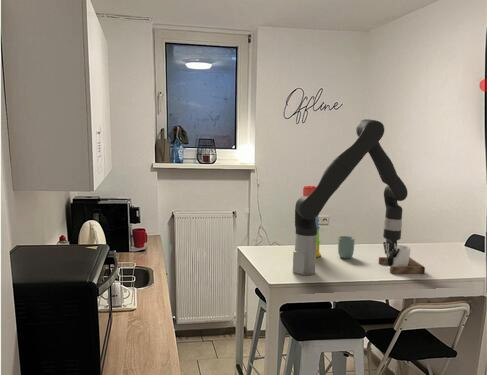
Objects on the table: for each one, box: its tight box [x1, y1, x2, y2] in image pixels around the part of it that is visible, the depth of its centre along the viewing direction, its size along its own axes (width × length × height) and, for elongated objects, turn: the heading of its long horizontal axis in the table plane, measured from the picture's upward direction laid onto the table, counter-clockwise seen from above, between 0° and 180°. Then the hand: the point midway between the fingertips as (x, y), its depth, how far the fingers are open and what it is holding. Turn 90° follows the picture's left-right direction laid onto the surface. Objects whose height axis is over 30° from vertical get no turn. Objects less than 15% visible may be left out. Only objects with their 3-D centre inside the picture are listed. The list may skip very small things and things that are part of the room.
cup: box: [337, 235, 356, 260], centre depth 208 cm, size 8×8×10 cm
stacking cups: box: [302, 185, 321, 258], centre depth 209 cm, size 10×10×35 cm
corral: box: [378, 256, 426, 275], centre depth 194 cm, size 15×15×3 cm
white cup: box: [392, 244, 411, 266], centre depth 193 cm, size 8×8×10 cm
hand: (389, 265), depth 193 cm, fingers closed
